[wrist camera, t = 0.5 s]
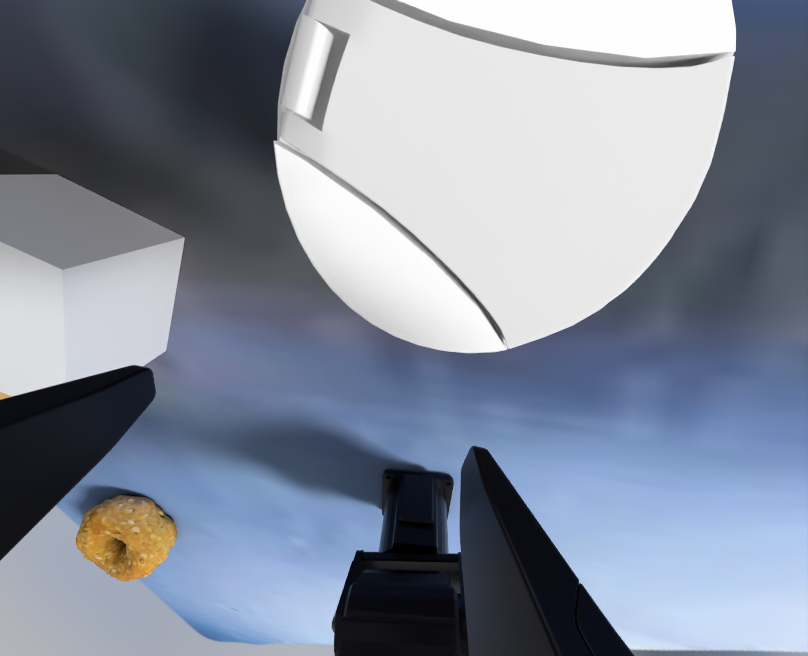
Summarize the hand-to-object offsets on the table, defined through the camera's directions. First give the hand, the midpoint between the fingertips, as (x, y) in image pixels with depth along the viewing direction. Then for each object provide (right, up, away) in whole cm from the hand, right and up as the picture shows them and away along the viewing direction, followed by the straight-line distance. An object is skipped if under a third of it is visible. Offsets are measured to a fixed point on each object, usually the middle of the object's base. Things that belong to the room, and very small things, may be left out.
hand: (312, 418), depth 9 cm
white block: (-18, +6, +13) cm, 23 cm away
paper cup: (+5, +11, +9) cm, 15 cm away
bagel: (-28, -20, +28) cm, 45 cm away
